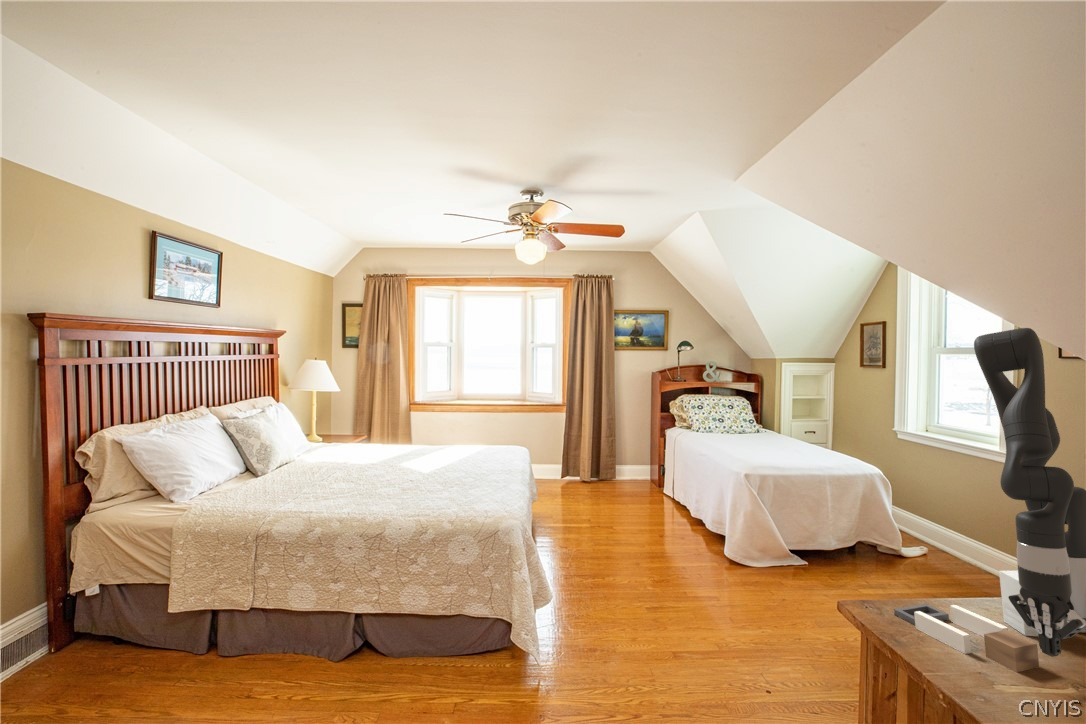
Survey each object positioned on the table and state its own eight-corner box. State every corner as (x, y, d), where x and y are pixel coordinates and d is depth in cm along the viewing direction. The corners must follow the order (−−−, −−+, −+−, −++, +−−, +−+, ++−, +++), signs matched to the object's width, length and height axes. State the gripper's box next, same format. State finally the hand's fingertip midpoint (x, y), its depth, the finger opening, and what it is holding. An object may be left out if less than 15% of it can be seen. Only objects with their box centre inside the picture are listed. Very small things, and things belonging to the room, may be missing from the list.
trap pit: (926, 609, 132) (926, 603, 132) (949, 619, 126) (948, 613, 126) (894, 614, 130) (894, 609, 130) (915, 625, 124) (915, 619, 124)
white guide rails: (956, 621, 125) (955, 604, 126) (1009, 645, 114) (1007, 627, 114) (915, 628, 123) (914, 611, 123) (965, 654, 111) (963, 635, 112)
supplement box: (1062, 637, 115) (1056, 582, 116) (1024, 636, 117) (1019, 581, 117) (1037, 622, 123) (1032, 570, 123) (1002, 621, 124) (997, 569, 125)
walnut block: (1007, 653, 111) (1005, 630, 111) (1039, 667, 105) (1037, 643, 105) (985, 657, 110) (983, 634, 110) (1016, 672, 104) (1014, 648, 104)
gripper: (1099, 576, 95) (1107, 670, 94) (1021, 553, 108) (1028, 635, 107) (1067, 580, 94) (1075, 675, 93) (992, 557, 107) (999, 640, 106)
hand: (1050, 654), depth 100 cm, fingers closed
